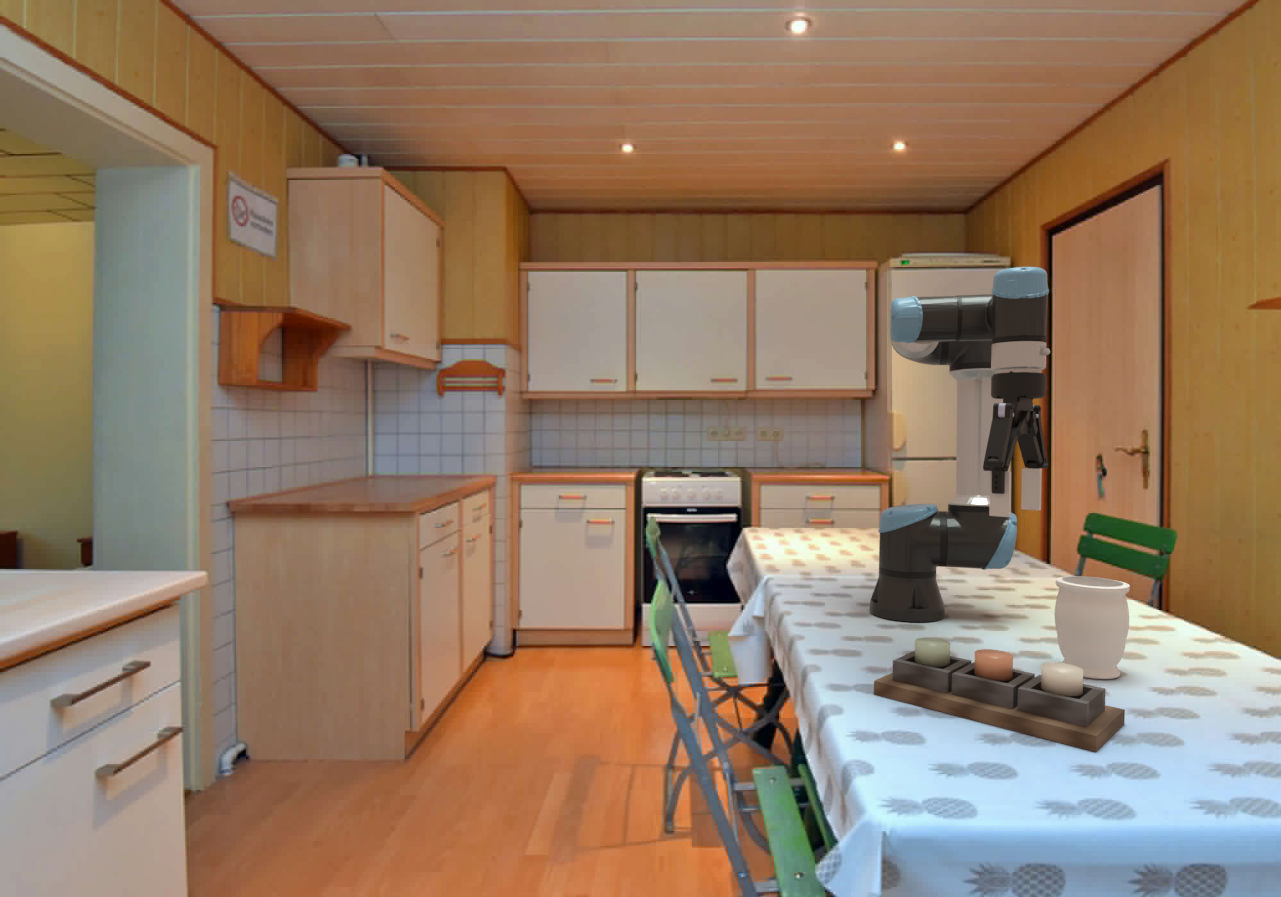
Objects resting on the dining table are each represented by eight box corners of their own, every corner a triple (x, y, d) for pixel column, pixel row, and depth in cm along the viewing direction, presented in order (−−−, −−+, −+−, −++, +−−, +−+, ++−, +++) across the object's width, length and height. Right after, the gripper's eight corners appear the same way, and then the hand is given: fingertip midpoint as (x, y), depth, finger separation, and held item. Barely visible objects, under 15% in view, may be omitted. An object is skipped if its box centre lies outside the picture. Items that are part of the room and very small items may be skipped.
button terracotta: (968, 675, 114) (968, 654, 114) (982, 667, 118) (982, 647, 118) (1004, 683, 111) (1005, 661, 111) (1018, 675, 114) (1018, 654, 114)
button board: (873, 694, 120) (874, 661, 120) (913, 674, 130) (913, 644, 129) (1096, 752, 99) (1097, 712, 99) (1124, 724, 109) (1125, 687, 108)
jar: (1119, 666, 134) (1121, 577, 134) (1135, 685, 125) (1137, 589, 124) (1049, 660, 138) (1050, 573, 137) (1059, 678, 128) (1061, 585, 128)
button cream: (1035, 690, 108) (1035, 667, 108) (1048, 681, 112) (1048, 660, 111) (1076, 699, 104) (1076, 676, 104) (1087, 690, 108) (1088, 667, 108)
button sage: (908, 661, 121) (909, 642, 120) (923, 655, 124) (923, 635, 124) (941, 669, 117) (941, 648, 117) (955, 661, 121) (955, 642, 121)
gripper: (1015, 366, 109) (1013, 521, 110) (1070, 375, 127) (1067, 509, 128) (960, 368, 114) (958, 517, 115) (1020, 377, 132) (1018, 505, 133)
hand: (1016, 513), depth 121 cm, fingers open, 13 cm apart
